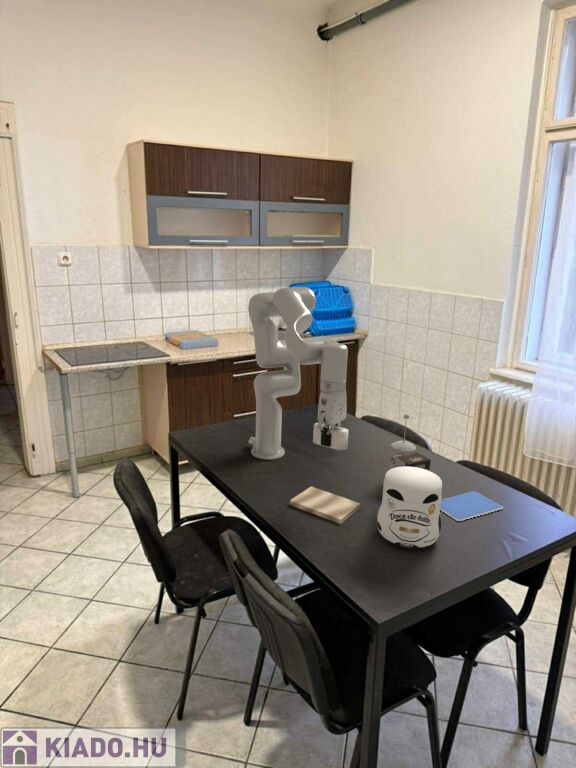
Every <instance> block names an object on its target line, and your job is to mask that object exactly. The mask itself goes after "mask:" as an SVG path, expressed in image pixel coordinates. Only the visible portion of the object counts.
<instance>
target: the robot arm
mask: <svg viewBox="0 0 576 768" xmlns="http://www.w3.org/2000/svg"><path fill="white" fill-rule="evenodd" d="M316 304H317V301H316V295H315V293H314V292H313V290H311V288H309V287H305V286H296V287H293V286H292V287H291V286H290V287H289V286H288V287H282V288H279V289H277V290H275V292H274V291H273V292H271V291H269V292H268V291H267V292H259V293H256V294H254V295H252V296H251V297H250V298H249V302H248V305H247V306H248V316H249V320H250V322H251V325H252V329H253V338H254V347H255V348H254V352H255V361H256V364H257V365H258V367H260V368H263V369H272V368H280V367H281V368H282V367H283V370H272V371H265V372H261V373H258V375H256V377H255V378H254V381H253V388H254V395H255V437H254V436H250V437H249V440H248V444H250V445H252V448H251V451H250V452H251V455H252V456H253V457H255V458H257V459H260V460H277V459H280V458H282V457H283V456H284V455H285V448H283V447H282V419H283V415H282V414H283V409H282V405H281V404H280V403H279V401H278V400H277V398H281V397H289V396H293V395H294V396H295V395H297V394H298V393H300V390H301V386H302V378H301V365H302V366H307V365H308V366H309V365H316V364H320V379H319V380H320V382H319V383H320V385H319V387H320V388H319V390H320V393H319V399H318V406H317V423H318V425H317V428H319V429H320V433H321V445H320V446H322V445H324V446H323V447H325V446H327V447H326V448H329V447H330V446H331V434H330V431H331V426H333V425H334V426H338V427H342V426H341V425H342V424H341V423H342V422H343V421H344V420H346V418H347V411H348V409H347V407H348V405H347V404H348V403H347V401H348V400H347V387H346V386H347V371H348V356H349V354H348V353H349V350H348V349H349V348H348V347H347V345H345V344H344V343H339V342H337V341H336V340H335V339H333V338H331V337H325V338H309V339H308V338H307V339H303V338H301V336H300V334H303V332H305V331H307V330H308V329H309V328H310V327H311V325H312V323H313V315H312V313H311V312H312V311H313V310H314V309H315V307H316ZM272 317H275V318H276V317H277V318H278V317H281V319H282V320H283V322H284V323H285V325H286V326H287V327H286V330H285V333H284V334H285V335H284V339H285V340H279V335H278V334H279V333H278V328H277V325H276V324H275V322H274V321H273V320H272ZM325 425H326V426H328V428H326V427H325Z"/></svg>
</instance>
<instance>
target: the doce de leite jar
mask: <svg viewBox="0 0 576 768" xmlns="http://www.w3.org/2000/svg"><path fill="white" fill-rule="evenodd" d="M442 490H443V481H442V479H441V477H440V476H439V475H437V474H436V473H434V472H432V471H431V470H429V471H428V470H425V469H421V468H417V467H408V466H406V467H396V468H392V469H390V470H387V471H386V473H385V475H384V479H383V487H382V500H381V503H380V507H379V509H378V511H377V516H376V517H377V518H376V523H377V530H378V531H379V534H380V536H382V537H383V538H384V539H385V540H386V542H387V541H388V542H389V543H391V544H392V545H395V546H399V547H401V548H403V549H404V548H405V549H413V550H414V549H424V548H428V547H429V546H432V545H434V544H435V542H437V540H438V539H439V536H440V534H441V529H442V519H441V511H440V503H441V500H442V492H443V491H442Z"/></svg>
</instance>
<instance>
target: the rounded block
mask: <svg viewBox="0 0 576 768" xmlns="http://www.w3.org/2000/svg"><path fill="white" fill-rule="evenodd" d="M317 425H318V422H315V423H313V433H312V434H313V435H312V438H313V439H312V443H313V444H315V445H319V446H322V447H325V448H329V449H334V450H337V451H345V450H347V449H348V445H349V429H348V428H345V427H342V426H341V427H338V426H334V425H333V426H331V431H330V434H331V446H330V447H327V446H324V445H321V433H320V429H319V428H317ZM325 427H326V428H328V426H326V425H325Z"/></svg>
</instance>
